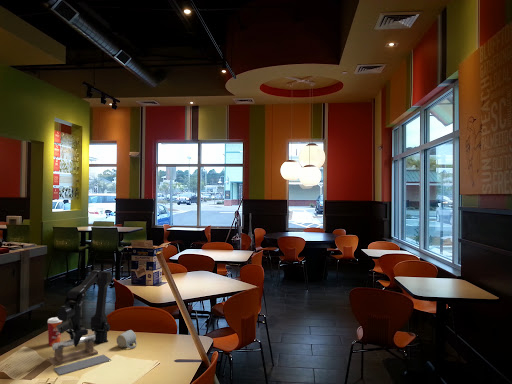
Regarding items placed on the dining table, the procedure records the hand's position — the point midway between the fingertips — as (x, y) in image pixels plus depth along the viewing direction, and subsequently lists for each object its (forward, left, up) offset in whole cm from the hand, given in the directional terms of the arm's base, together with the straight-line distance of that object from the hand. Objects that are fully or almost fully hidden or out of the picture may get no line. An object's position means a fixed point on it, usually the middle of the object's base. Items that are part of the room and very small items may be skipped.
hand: (74, 345), depth 191 cm
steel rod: (0, 0, 0) cm, 0 cm away
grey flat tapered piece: (0, +12, -6) cm, 13 cm away
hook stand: (0, 0, -6) cm, 6 cm away
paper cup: (+1, -27, -6) cm, 28 cm away
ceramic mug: (-27, +4, -6) cm, 28 cm away
